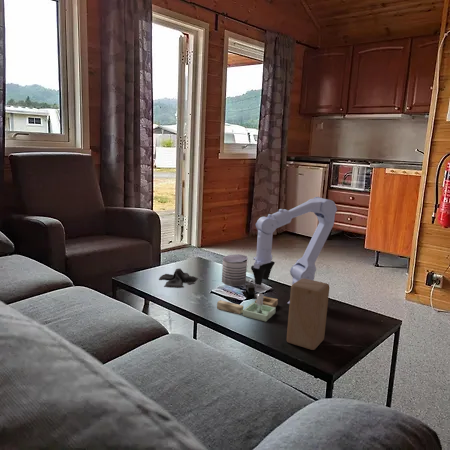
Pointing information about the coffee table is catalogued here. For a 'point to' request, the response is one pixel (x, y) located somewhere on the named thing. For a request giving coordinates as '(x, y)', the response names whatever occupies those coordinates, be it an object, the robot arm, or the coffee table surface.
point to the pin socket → (269, 301)
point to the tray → (266, 313)
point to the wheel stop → (230, 307)
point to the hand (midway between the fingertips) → (261, 281)
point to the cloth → (178, 279)
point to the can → (234, 270)
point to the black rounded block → (249, 292)
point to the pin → (259, 303)
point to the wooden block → (307, 313)
